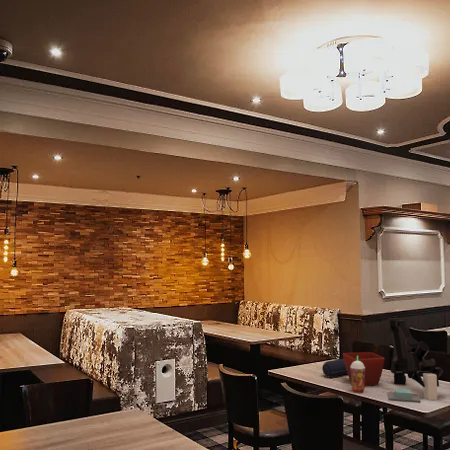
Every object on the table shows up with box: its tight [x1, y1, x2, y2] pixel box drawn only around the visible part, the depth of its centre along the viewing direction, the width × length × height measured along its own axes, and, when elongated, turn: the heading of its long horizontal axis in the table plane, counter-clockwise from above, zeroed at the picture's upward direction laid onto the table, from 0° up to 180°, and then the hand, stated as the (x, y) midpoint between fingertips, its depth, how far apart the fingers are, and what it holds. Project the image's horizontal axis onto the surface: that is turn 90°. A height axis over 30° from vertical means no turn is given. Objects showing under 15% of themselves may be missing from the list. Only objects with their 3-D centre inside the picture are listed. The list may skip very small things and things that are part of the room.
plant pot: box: [342, 351, 385, 387], centre depth 300 cm, size 19×19×17 cm
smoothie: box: [350, 356, 365, 394], centre depth 282 cm, size 8×8×20 cm
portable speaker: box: [321, 358, 348, 378], centre depth 321 cm, size 25×10×10 cm, turn 126°
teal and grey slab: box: [387, 388, 421, 404], centre depth 268 cm, size 16×14×4 cm
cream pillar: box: [422, 373, 438, 401], centre depth 267 cm, size 5×5×13 cm
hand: (431, 386), depth 266 cm, fingers open, 8 cm apart
